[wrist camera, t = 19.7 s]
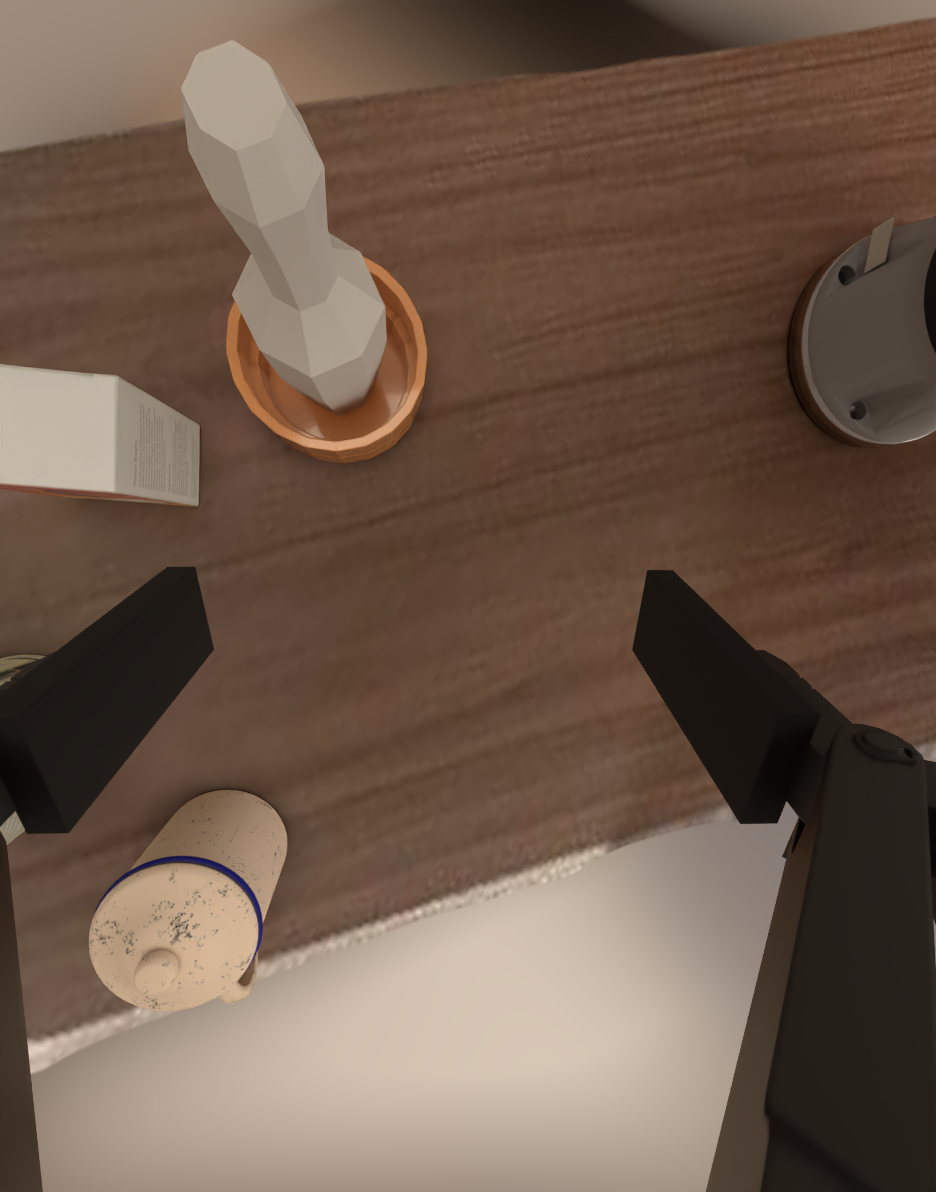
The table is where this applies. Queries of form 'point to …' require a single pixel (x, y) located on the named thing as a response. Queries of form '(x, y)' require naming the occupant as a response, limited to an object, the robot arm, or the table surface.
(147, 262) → the table surface
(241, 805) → the teacup with lid
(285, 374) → the low poly bottle
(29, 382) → the small box
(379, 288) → the bowl
